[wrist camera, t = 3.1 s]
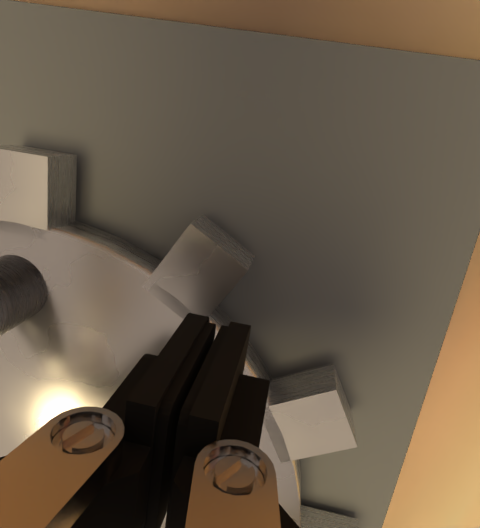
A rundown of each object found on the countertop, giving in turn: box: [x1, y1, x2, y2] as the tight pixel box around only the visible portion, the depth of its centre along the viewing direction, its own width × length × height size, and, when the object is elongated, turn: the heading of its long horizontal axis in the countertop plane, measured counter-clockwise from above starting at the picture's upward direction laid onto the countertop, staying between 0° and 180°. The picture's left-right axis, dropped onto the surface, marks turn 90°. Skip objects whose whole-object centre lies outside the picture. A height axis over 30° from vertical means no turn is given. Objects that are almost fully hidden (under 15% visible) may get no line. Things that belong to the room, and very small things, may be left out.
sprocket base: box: [0, 0, 480, 528], centre depth 16 cm, size 32×26×3 cm
